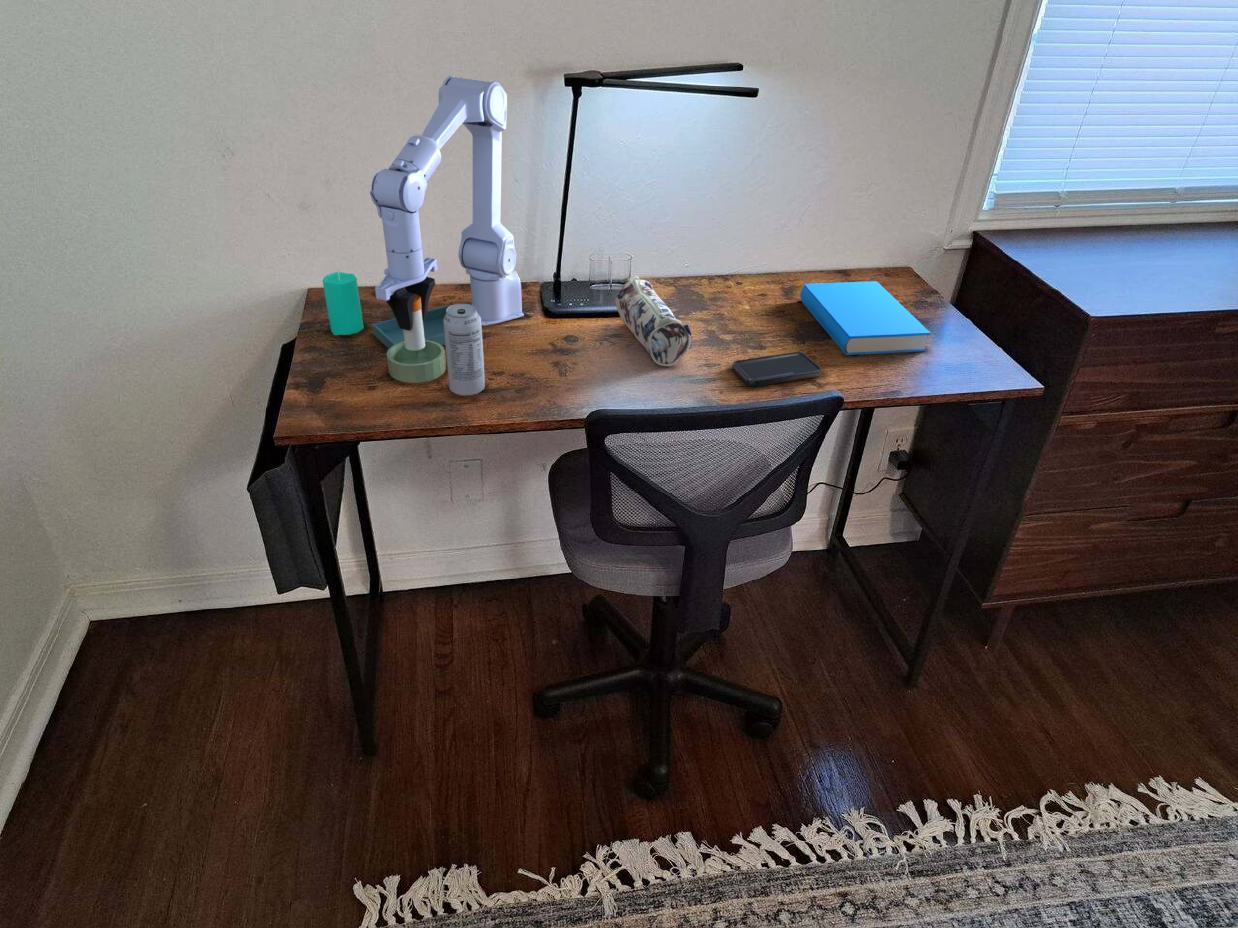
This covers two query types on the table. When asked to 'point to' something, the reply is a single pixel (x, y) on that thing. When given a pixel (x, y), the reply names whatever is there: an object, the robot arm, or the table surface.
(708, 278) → the table surface
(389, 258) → the robot arm
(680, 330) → the pencil case
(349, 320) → the candle
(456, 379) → the energy drink can
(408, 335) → the glue stick
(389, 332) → the tray
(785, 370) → the phone
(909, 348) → the book
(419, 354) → the green round bowl
